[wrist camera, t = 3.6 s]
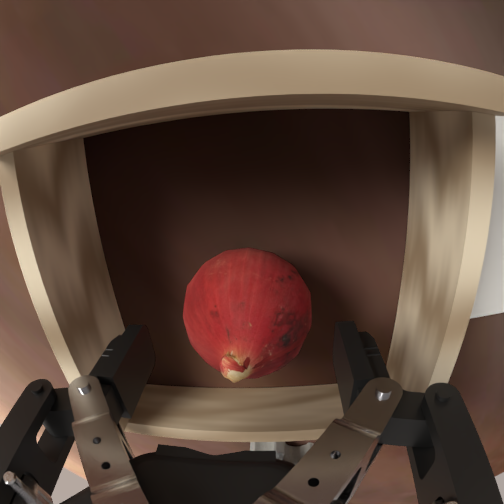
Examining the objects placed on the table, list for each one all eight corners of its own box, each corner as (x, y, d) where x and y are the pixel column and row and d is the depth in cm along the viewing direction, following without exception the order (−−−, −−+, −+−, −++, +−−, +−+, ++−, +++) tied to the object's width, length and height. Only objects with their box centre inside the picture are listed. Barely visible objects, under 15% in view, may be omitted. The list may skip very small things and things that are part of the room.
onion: (299, 220, 17) (321, 298, 9) (307, 314, 19) (323, 419, 12) (191, 233, 17) (137, 314, 10) (211, 322, 20) (183, 425, 12)
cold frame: (64, 122, 15) (-39, 137, 8) (427, 92, 14) (526, 83, 6) (134, 393, 23) (100, 473, 15) (395, 387, 21) (425, 472, 14)
